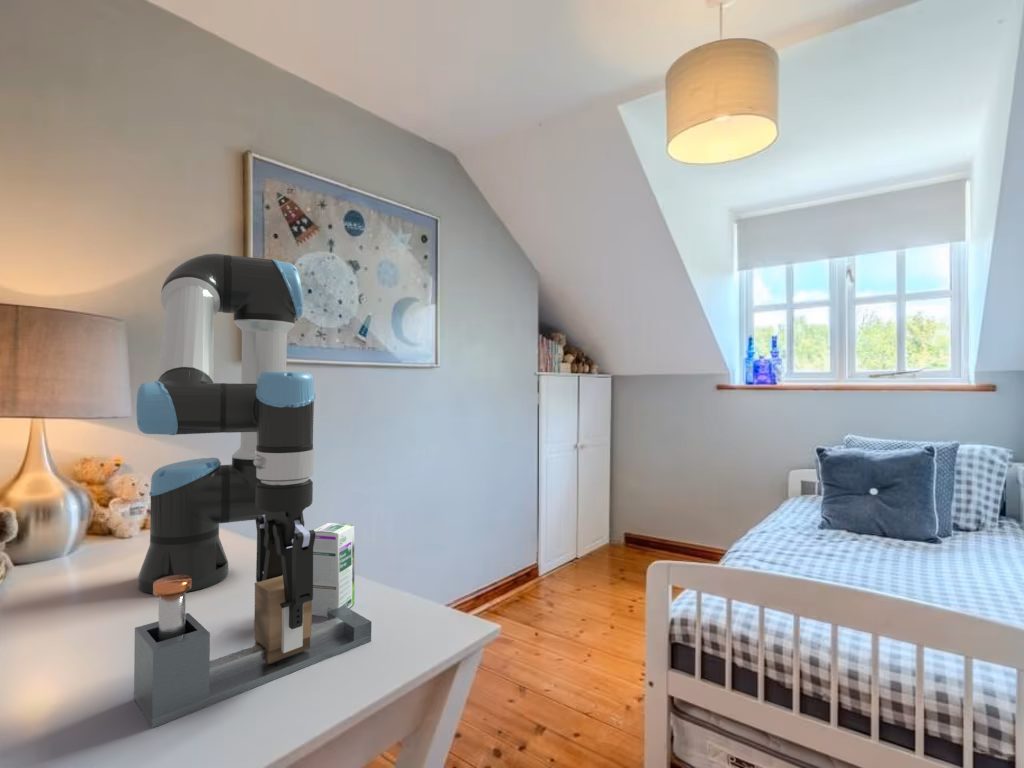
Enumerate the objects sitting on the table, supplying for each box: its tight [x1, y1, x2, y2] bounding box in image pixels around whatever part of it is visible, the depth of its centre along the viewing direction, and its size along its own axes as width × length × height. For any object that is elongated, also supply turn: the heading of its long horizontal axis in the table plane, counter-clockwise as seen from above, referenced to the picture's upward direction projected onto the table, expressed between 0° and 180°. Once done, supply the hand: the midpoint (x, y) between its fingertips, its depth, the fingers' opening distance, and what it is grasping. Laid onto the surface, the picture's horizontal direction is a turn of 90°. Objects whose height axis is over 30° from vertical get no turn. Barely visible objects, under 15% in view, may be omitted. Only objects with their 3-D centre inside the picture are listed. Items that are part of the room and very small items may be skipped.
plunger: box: [152, 575, 191, 642], centre depth 67 cm, size 4×4×10 cm
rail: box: [133, 606, 372, 729], centre depth 75 cm, size 8×29×9 cm, turn 137°
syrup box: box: [312, 522, 355, 618], centre depth 94 cm, size 6×6×14 cm
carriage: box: [253, 576, 313, 664], centre depth 77 cm, size 5×6×10 cm
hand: (282, 641), depth 77 cm, fingers closed on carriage, 5 cm apart
